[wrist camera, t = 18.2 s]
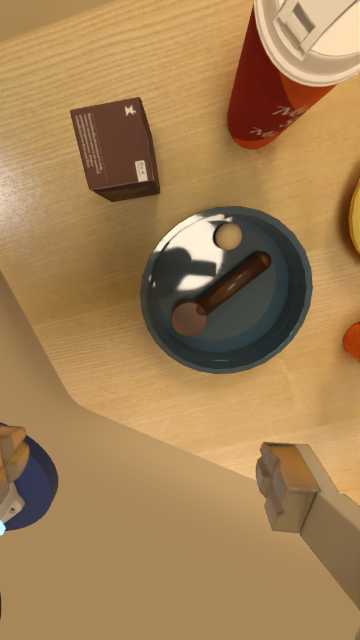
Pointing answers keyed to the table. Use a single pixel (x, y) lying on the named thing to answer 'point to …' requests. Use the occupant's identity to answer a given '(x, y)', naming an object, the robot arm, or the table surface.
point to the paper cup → (353, 341)
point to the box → (117, 149)
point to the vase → (355, 218)
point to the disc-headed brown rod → (216, 295)
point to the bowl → (239, 310)
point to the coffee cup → (291, 64)
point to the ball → (228, 236)
